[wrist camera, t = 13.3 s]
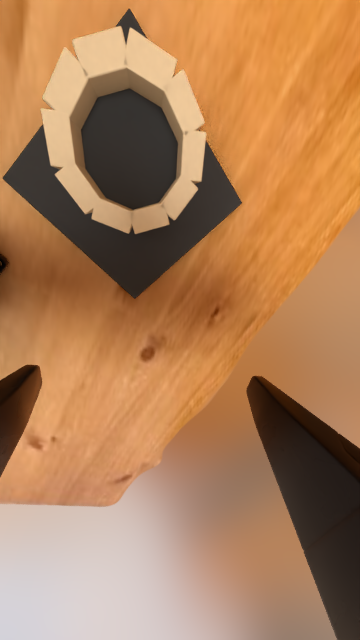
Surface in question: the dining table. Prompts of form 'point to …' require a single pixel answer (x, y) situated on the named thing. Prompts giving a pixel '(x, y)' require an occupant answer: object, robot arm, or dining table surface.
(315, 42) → the dining table surface
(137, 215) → the beige segmented ring
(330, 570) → the robot arm
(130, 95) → the rubber mat
